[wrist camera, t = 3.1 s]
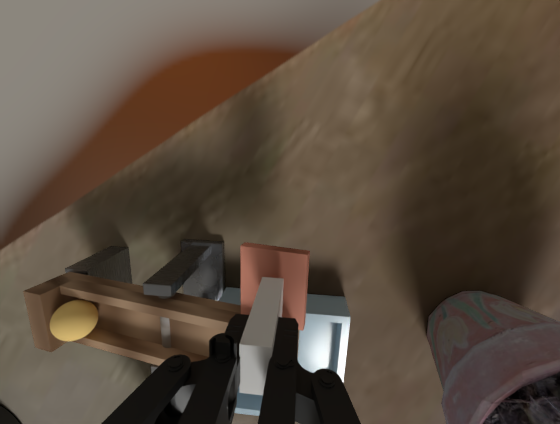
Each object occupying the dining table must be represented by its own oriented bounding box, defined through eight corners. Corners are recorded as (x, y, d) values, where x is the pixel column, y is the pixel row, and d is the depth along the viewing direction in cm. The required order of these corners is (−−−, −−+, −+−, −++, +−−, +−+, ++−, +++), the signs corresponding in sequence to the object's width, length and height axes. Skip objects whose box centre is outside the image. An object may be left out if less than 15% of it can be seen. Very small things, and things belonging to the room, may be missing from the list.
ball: (81, 321, 26) (43, 345, 23) (76, 289, 26) (35, 310, 22) (109, 328, 26) (73, 354, 22) (105, 296, 25) (66, 318, 21)
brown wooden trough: (80, 324, 28) (36, 351, 25) (62, 215, 26) (9, 226, 22) (302, 381, 22) (291, 431, 18) (311, 247, 20) (300, 271, 16)
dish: (227, 383, 36) (218, 411, 32) (226, 287, 33) (215, 305, 29) (334, 394, 35) (338, 425, 31) (344, 296, 32) (350, 317, 28)
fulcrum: (187, 309, 34) (138, 375, 24) (183, 239, 32) (127, 280, 22) (225, 312, 34) (191, 381, 24) (224, 241, 31) (185, 285, 21)
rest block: (115, 292, 35) (74, 323, 28) (110, 246, 33) (65, 268, 27) (133, 293, 34) (95, 325, 28) (128, 247, 33) (86, 270, 27)
